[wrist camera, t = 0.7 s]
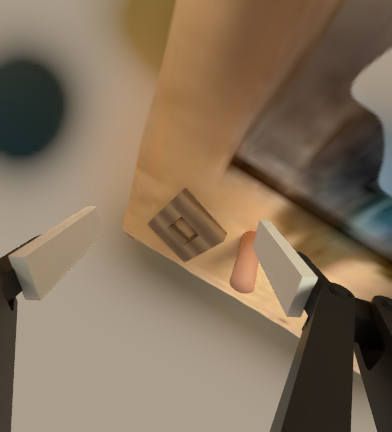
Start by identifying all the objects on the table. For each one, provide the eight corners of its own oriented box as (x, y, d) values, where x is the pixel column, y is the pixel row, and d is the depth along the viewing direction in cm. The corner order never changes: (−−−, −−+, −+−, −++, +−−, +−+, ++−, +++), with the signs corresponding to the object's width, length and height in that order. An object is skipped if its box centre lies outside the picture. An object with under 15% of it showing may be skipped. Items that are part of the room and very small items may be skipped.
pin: (253, 228, 39) (243, 272, 28) (265, 241, 39) (259, 290, 29) (239, 236, 41) (224, 279, 31) (250, 248, 41) (240, 295, 31)
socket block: (185, 187, 40) (179, 193, 38) (226, 233, 42) (223, 241, 39) (153, 218, 48) (147, 223, 46) (189, 255, 50) (184, 262, 48)
